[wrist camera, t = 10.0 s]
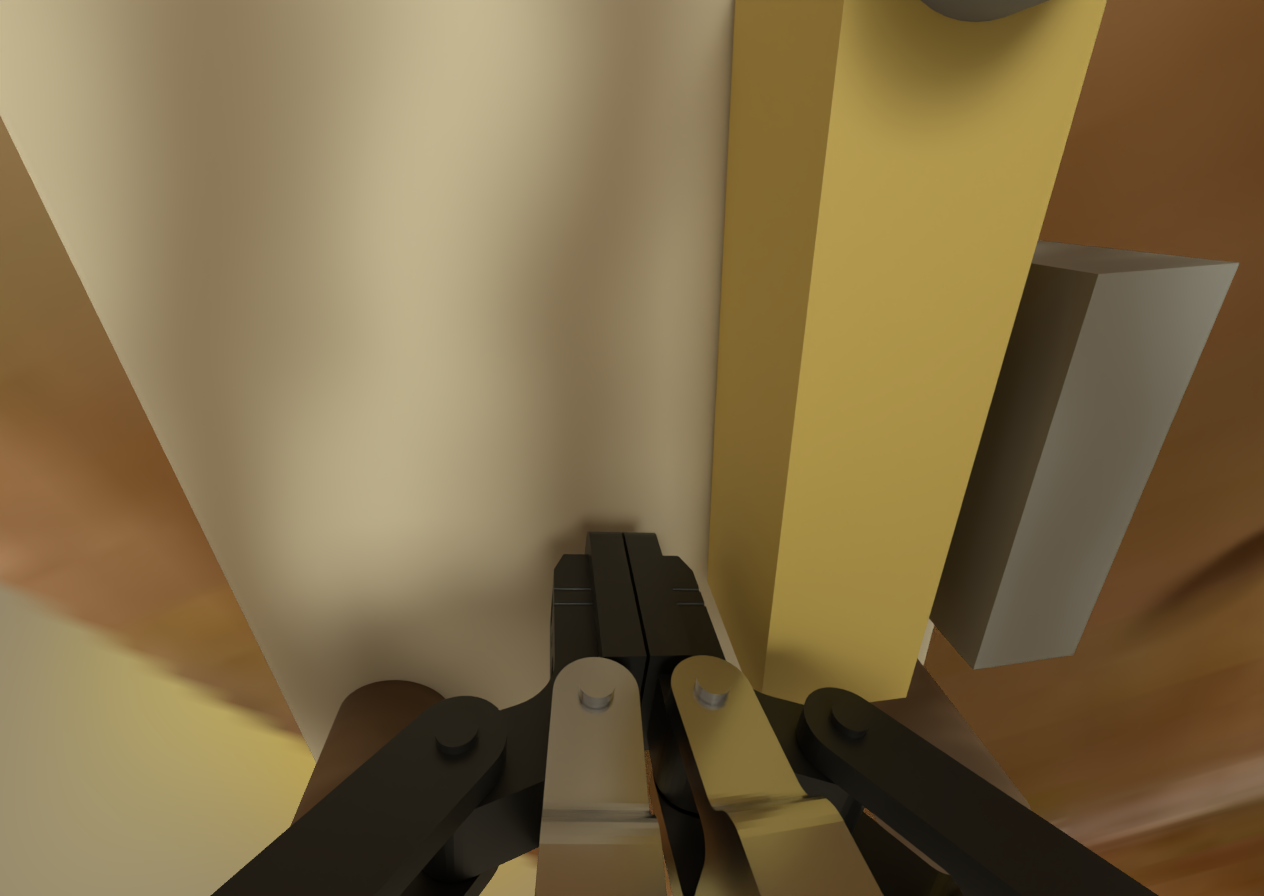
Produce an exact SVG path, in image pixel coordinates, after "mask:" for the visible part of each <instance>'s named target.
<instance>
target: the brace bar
mask: <svg viewBox="0 0 1264 896" xmlns="http://www.w3.org/2000/svg"><path fill="white" fill-rule="evenodd" d="M1106 2H1107V0H735V16H734V36H733V57H732V77H731V98H730V118H729V139H728V159H727V180H726V200H725V221H724V241H723V261H722V282H721V302H720V323H719V343H718V364H717V384H716V405H715V425H714V446H713V466H712V486H711V507H710V527H709V548H708V568H707V582H708V585H709V587H710V590H711V593H712V595H713V598H714V600H715V603H716V606H717V608H718V611H719V613H720V616H721V619H722V621H723V624H724V627H725V629H726V632H727V634H728V637H729V640H730V642H731V645H732V647H733V650H734V653H735V655H736V658H737V661H738V663H739V666H740V668H741V671H742V673H743V674H744V675H745V676H746V678H747V679H748V681H749V682H750V684H751V686H752V688H753V689H754V690H756V691H758V692H761V693H763V694H766V695H769V696H772V697H776V698H780V699H784V700H788V701H791V702H795V703H799V704H803V705H804V703H805V701H806V699H807V697H808V695H809V694H811V693H812V692H813V691H815V690H817V689H820V688H825V687H833V688H840V689H844V690H847V691H850V692H852V693H854V694H857V695H858V696H860V697H862V698H864V699H865V700H867V701H868V702H875V701H883V700H890V699H898V698H906V696H907V692H908V689H909V686H910V682H911V679H912V675H913V672H914V668H915V665H916V661H917V658H918V654H919V651H920V647H921V644H922V640H923V637H924V633H925V630H926V627H927V623H928V620H929V616H930V613H931V609H932V606H933V602H934V599H935V595H936V592H937V588H938V585H939V581H940V578H941V574H942V571H943V568H944V564H945V561H946V557H947V554H948V550H949V547H950V543H951V540H952V536H953V533H954V529H955V526H956V522H957V519H958V515H959V512H960V509H961V505H962V502H963V498H964V495H965V491H966V488H967V484H968V481H969V477H970V474H971V470H972V467H973V463H974V460H975V456H976V453H977V450H978V446H979V443H980V439H981V436H982V432H983V429H984V425H985V422H986V418H987V415H988V411H989V408H990V404H991V401H992V397H993V394H994V391H995V387H996V384H997V380H998V377H999V373H1000V370H1001V366H1002V363H1003V359H1004V356H1005V352H1006V349H1007V345H1008V342H1009V338H1010V335H1011V332H1012V328H1013V325H1014V321H1015V318H1016V314H1017V311H1018V307H1019V304H1020V300H1021V297H1022V293H1023V290H1024V286H1025V283H1026V279H1027V276H1028V273H1029V269H1030V266H1031V262H1032V259H1033V255H1034V252H1035V248H1036V245H1037V241H1038V238H1039V234H1040V231H1041V227H1042V224H1043V220H1044V217H1045V214H1046V210H1047V207H1048V203H1049V200H1050V196H1051V193H1052V189H1053V186H1054V182H1055V179H1056V175H1057V172H1058V168H1059V165H1060V161H1061V158H1062V155H1063V151H1064V148H1065V144H1066V141H1067V137H1068V134H1069V130H1070V127H1071V123H1072V120H1073V116H1074V113H1075V109H1076V106H1077V102H1078V99H1079V96H1080V92H1081V89H1082V85H1083V82H1084V78H1085V75H1086V71H1087V68H1088V64H1089V61H1090V57H1091V54H1092V50H1093V47H1094V43H1095V40H1096V37H1097V33H1098V30H1099V26H1100V23H1101V19H1102V16H1103V12H1104V9H1105V5H1106Z"/></svg>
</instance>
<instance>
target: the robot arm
mask: <svg viewBox="0 0 1264 896" xmlns="http://www.w3.org/2000/svg"><path fill="white" fill-rule="evenodd" d="M644 750H649V751H650V757H651V763H652V773H651V778H650V783H649V795H650V800H651V804H652V809H653V813H654V815H651V812H650V808H649V801H648V789H647V778H646V766H645V754H644ZM865 807H866V808H867V809H868V810H869V811H871V812H872V813H873V814H874V815H876V816H877V817H878V818H879V819H881V820H882V821H883V822H885V823H886V824H887V825H888V826H890V827H891V828H892V829H893V830H895V831H896V832H897V833H898V834H900V835H901V836H902V837H903V838H905V839H906V840H907V841H909V842H910V843H911V844H912V845H914V846H915V847H916V848H917V849H919V850H920V851H921V852H922V853H924V854H925V855H926V856H927V857H929V858H930V859H931V860H933V861H934V862H935V863H936V864H938V865H939V866H940V867H941V868H943V869H944V870H945V871H946V872H947V873H948V874H949V875H947V874H944V873H942V872H940V871H938V870H936V869H935V868H933V867H932V866H930V865H929V864H928V863H927V862H925V861H924V860H923V859H922V858H920V857H919V856H918V855H917V854H915V853H914V852H913V851H912V850H910V849H909V848H908V847H907V846H905V845H904V844H903V843H902V842H900V841H899V840H898V839H897V838H895V837H894V836H893V835H892V834H890V833H889V832H888V831H887V830H885V829H884V828H883V827H882V826H880V825H879V824H878V823H877V822H875V821H874V820H873V819H872V818H870V817H869V816H868V815H867V814H865V813H864V812H863V810H864V808H865ZM538 847H539V853H538V865H537V876H536V888H535V896H667V893H666V883H665V873H664V863H663V855H664V859H665V864H666V868H667V872H668V876H669V881H670V885H671V889H672V893H673V896H1158V895H1157V894H1155V893H1154V892H1152V891H1151V890H1149V889H1148V888H1146V887H1145V886H1143V885H1142V884H1140V883H1139V882H1137V881H1136V880H1134V879H1133V878H1131V877H1130V876H1128V875H1127V874H1125V873H1124V872H1122V871H1121V870H1119V869H1118V868H1116V867H1115V866H1113V865H1112V864H1110V863H1109V862H1107V861H1106V860H1104V859H1103V858H1101V857H1100V856H1098V855H1097V854H1095V853H1094V852H1092V851H1091V850H1089V849H1088V848H1086V847H1085V846H1083V845H1082V844H1080V843H1079V842H1077V841H1076V840H1074V839H1073V838H1071V837H1070V836H1068V835H1067V834H1065V833H1064V832H1062V831H1061V830H1059V829H1058V828H1056V827H1055V826H1053V825H1052V824H1050V823H1049V822H1048V821H1046V820H1045V819H1043V818H1042V817H1040V816H1039V815H1037V814H1036V813H1034V812H1033V811H1031V810H1030V809H1028V808H1027V807H1025V806H1024V805H1022V804H1021V803H1019V802H1018V801H1016V800H1015V799H1013V798H1012V797H1010V796H1009V795H1007V794H1006V793H1004V792H1003V791H1001V790H1000V789H998V788H997V787H995V786H994V785H992V784H991V783H989V782H988V781H986V780H985V779H983V778H982V777H980V776H979V775H977V774H976V773H974V772H973V771H971V770H970V769H968V768H967V767H965V766H964V765H962V764H961V763H959V762H958V761H956V760H955V759H953V758H952V757H950V756H949V755H947V754H946V753H944V752H943V751H941V750H940V749H938V748H937V747H935V746H934V745H932V744H931V743H929V742H928V741H926V740H925V739H923V738H922V737H920V736H919V735H917V734H916V733H914V732H913V731H911V730H910V729H908V728H907V727H906V726H904V725H903V724H901V723H900V722H898V721H897V720H895V719H894V718H892V717H891V716H889V715H888V714H886V713H885V712H883V711H882V710H880V709H879V708H877V707H876V706H874V705H873V704H871V703H870V702H868V701H867V700H865V699H864V698H862V697H860V696H858V695H857V694H854V693H852V692H850V691H847V690H844V689H840V688H833V687H825V688H820V689H817V690H815V691H813V692H812V693H811V694H809V695H808V697H807V699H806V701H805V703H804V705H803V704H799V703H795V702H791V701H788V700H784V699H780V698H776V697H772V696H769V695H766V694H763V693H761V692H758V691H756V690H754V689H753V688H752V686H751V684H750V682H749V681H748V679H747V678H746V676H745V675H744V674H743V673H742V672H741V671H740V670H739V669H738V668H737V667H735V666H734V665H732V664H731V663H729V662H727V661H726V659H725V657H724V654H723V651H722V648H721V646H720V643H719V640H718V638H717V635H716V632H715V630H714V627H713V624H712V621H711V619H710V616H709V613H708V611H707V608H706V606H704V600H703V597H702V594H701V592H700V591H699V586H698V584H697V581H696V578H695V576H694V573H693V571H692V570H691V569H690V567H689V566H688V565H687V564H686V563H685V562H684V561H683V560H682V559H681V558H680V557H679V556H663V555H662V552H661V549H660V545H659V542H658V539H657V536H656V534H655V533H645V532H622V533H621V532H599V531H588V532H587V537H586V546H585V554H563V556H562V557H561V559H560V561H559V562H558V564H557V565H556V567H555V568H554V575H553V588H552V602H551V615H550V681H549V682H548V683H547V685H546V686H545V687H544V688H543V689H542V690H541V691H540V692H539V693H538V694H537V695H535V696H534V697H533V698H531V699H529V700H527V701H525V702H523V703H520V704H518V705H515V706H512V707H509V708H506V709H502V710H499V709H498V708H497V707H496V706H495V705H494V704H492V703H491V702H489V701H487V700H485V699H482V698H479V697H474V696H456V697H451V698H448V699H445V700H442V701H440V702H437V703H436V704H434V705H432V706H430V707H429V708H428V709H426V710H425V711H424V712H422V713H421V714H420V715H419V716H418V717H417V718H415V719H414V720H413V721H412V722H411V723H410V724H409V725H407V726H406V727H405V728H404V729H403V730H402V731H400V732H399V733H398V734H397V735H396V736H395V737H394V738H392V739H391V740H390V741H389V742H388V743H387V744H385V745H384V746H383V747H382V748H381V749H380V750H378V751H377V752H376V753H375V754H374V755H373V756H372V757H370V758H369V759H368V760H367V761H366V762H365V763H363V764H362V765H361V766H360V767H359V768H358V769H357V770H355V771H354V772H353V773H352V774H351V775H350V776H348V777H347V778H346V779H345V780H344V781H343V782H341V783H340V784H339V785H338V786H337V787H336V788H335V789H333V790H332V791H331V792H330V793H329V794H328V795H326V796H325V797H324V798H323V799H322V800H321V801H320V802H318V803H317V804H316V805H315V806H314V807H313V808H311V809H310V810H309V811H308V812H307V813H306V814H304V815H303V816H302V817H301V818H300V819H299V820H298V821H296V822H295V823H294V824H293V825H292V826H291V827H289V828H288V829H287V830H286V831H285V832H284V833H282V834H281V835H280V836H279V837H278V838H277V839H276V840H274V841H273V842H272V843H271V844H270V845H269V846H268V847H266V848H265V849H264V850H263V851H262V852H261V853H259V854H258V855H257V856H256V857H255V858H254V859H252V860H251V861H250V862H249V863H248V864H247V865H245V866H244V867H243V868H242V869H241V870H240V871H239V872H237V873H236V874H235V875H234V876H233V877H232V878H230V879H229V880H228V881H227V882H226V883H225V884H224V885H222V886H221V887H220V888H219V889H218V890H217V891H215V892H214V893H213V894H212V895H211V896H479V895H480V893H481V892H482V891H483V889H484V888H485V887H486V885H487V884H488V883H489V881H490V880H491V878H492V877H493V875H494V874H495V872H496V870H497V868H498V866H499V865H500V864H503V863H505V862H507V861H510V860H512V859H514V858H516V857H518V856H520V855H522V854H525V853H527V852H529V851H531V850H533V849H535V848H538ZM662 851H663V853H662Z"/></svg>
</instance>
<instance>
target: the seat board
mask: <svg viewBox="0 0 1264 896" xmlns="http://www.w3.org/2000/svg"><path fill="white" fill-rule="evenodd" d="M734 16H735V0H0V116H1V118H2V120H3V122H4V124H5V126H6V128H7V130H8V132H9V134H10V136H11V138H12V140H13V142H14V144H15V146H16V148H17V150H18V153H19V155H20V157H21V159H22V161H23V163H24V165H25V167H26V169H27V171H28V173H29V175H30V177H31V179H32V181H33V183H34V185H35V187H36V189H37V191H38V194H39V196H40V198H41V200H42V202H43V204H44V206H45V208H46V210H47V212H48V214H49V216H50V218H51V220H52V222H53V224H54V226H55V228H56V230H57V232H58V235H59V237H60V239H61V241H62V243H63V245H64V247H65V249H66V251H67V253H68V255H69V257H70V259H71V261H72V263H73V265H74V267H75V269H76V271H77V273H78V276H79V278H80V280H81V282H82V284H83V286H84V288H85V290H86V292H87V294H88V296H89V298H90V300H91V302H92V304H93V306H94V308H95V310H96V312H97V314H98V317H99V319H100V321H101V323H102V325H103V327H104V329H105V331H106V333H107V335H108V337H109V339H110V341H111V343H112V345H113V347H114V349H115V351H116V353H117V355H118V358H119V360H120V362H121V364H122V366H123V368H124V370H125V372H126V374H127V376H128V378H129V380H130V382H131V384H132V386H133V388H134V390H135V392H136V394H137V396H138V399H139V401H140V403H141V405H142V407H143V409H144V411H145V413H146V415H147V417H148V419H149V421H150V423H151V425H152V427H153V429H154V431H155V433H156V435H157V438H158V440H159V442H160V444H161V446H162V448H163V450H164V452H165V454H166V456H167V458H168V460H169V462H170V464H171V466H172V468H173V470H174V472H175V474H176V476H177V479H178V481H179V483H180V485H181V487H182V489H183V491H184V493H185V495H186V497H187V499H188V501H189V503H190V505H191V507H192V509H193V511H194V513H195V515H196V517H197V520H198V522H199V524H200V526H201V528H202V530H203V532H204V534H205V536H206V538H207V540H208V542H209V544H210V546H211V548H212V550H213V552H214V554H215V556H216V558H217V561H218V563H219V565H220V567H221V569H222V571H223V573H224V575H225V577H226V579H227V581H228V583H229V585H230V587H231V589H232V591H233V593H234V595H235V597H236V599H237V602H238V604H239V606H240V608H241V610H242V612H243V614H244V616H245V618H246V620H247V622H248V624H249V626H250V628H251V630H252V632H253V634H254V636H255V638H256V640H257V643H258V645H259V647H260V649H261V651H262V653H263V655H264V657H265V659H266V661H267V663H268V665H269V667H270V669H271V671H272V673H273V675H274V677H275V679H276V681H277V684H278V686H279V688H280V690H281V692H282V694H283V696H284V698H285V700H286V702H287V704H288V706H289V708H290V710H291V712H292V714H293V716H294V718H295V720H296V722H297V725H298V727H299V729H300V731H301V733H302V735H303V737H304V739H305V741H306V743H307V745H308V747H309V749H310V751H311V753H312V755H313V757H314V759H315V761H316V766H315V768H314V771H313V773H312V776H311V778H310V780H309V783H308V786H307V788H306V790H305V792H304V795H303V797H302V800H301V802H300V805H299V807H298V809H297V812H296V814H295V817H294V819H293V821H292V824H291V826H292V825H293V824H294V823H295V822H296V821H298V820H299V819H300V818H301V817H302V816H303V815H304V814H306V813H307V812H308V811H309V810H310V809H311V808H313V807H314V806H315V805H316V804H317V803H318V802H320V801H321V800H322V799H323V798H324V797H325V796H326V795H328V794H329V793H330V792H331V791H332V790H333V789H335V788H336V787H337V786H338V785H339V784H340V783H341V782H343V781H344V780H345V779H346V778H347V777H348V776H350V775H351V774H352V773H353V772H354V771H355V770H357V769H358V768H359V767H360V766H361V765H362V764H363V763H365V762H366V761H367V760H368V759H369V758H370V757H372V756H373V755H374V754H375V753H376V752H377V751H378V750H380V749H381V748H382V747H383V746H384V745H385V744H387V743H388V742H389V741H390V740H391V739H392V738H394V737H395V736H396V735H397V734H398V733H399V732H400V731H402V730H403V729H404V728H405V727H406V726H407V725H409V724H410V723H411V722H412V721H413V720H414V719H415V718H417V717H418V716H419V715H420V714H421V713H422V712H424V711H425V710H426V709H428V708H429V707H430V706H432V705H434V704H436V703H437V702H440V701H442V700H445V699H448V698H451V697H456V696H474V697H479V698H482V699H485V700H487V701H489V702H491V703H492V704H494V705H495V706H496V707H497V708H498V709H499V710H502V709H506V708H509V707H512V706H515V705H518V704H520V703H523V702H525V701H527V700H529V699H531V698H533V697H534V696H535V695H537V694H538V693H539V692H540V691H541V690H542V689H543V688H544V687H545V686H546V685H547V683H548V682H549V681H550V615H551V602H552V588H553V575H554V568H555V567H556V565H557V564H558V562H559V561H560V559H561V557H562V556H563V554H585V546H586V537H587V532H588V531H599V532H621V533H622V532H645V533H655V534H656V536H657V539H658V542H659V545H660V549H661V552H662V555H663V556H679V557H680V558H681V559H682V560H683V561H684V562H685V563H686V564H687V565H688V566H689V567H690V569H691V570H692V571H693V573H694V576H695V578H696V581H697V584H698V586H699V591H700V592H701V594H702V597H703V600H704V606H706V608H707V611H708V613H709V616H710V619H711V621H712V624H713V627H714V630H715V632H716V635H717V638H718V640H719V643H720V646H721V648H722V651H723V654H724V657H725V659H726V661H727V662H729V663H731V664H732V665H734V666H735V667H737V668H738V669H739V670H740V671H741V668H740V666H739V663H738V661H737V658H736V655H735V653H734V650H733V647H732V645H731V642H730V640H729V637H728V634H727V632H726V629H725V627H724V624H723V621H722V619H721V616H720V613H719V611H718V608H717V606H716V603H715V600H714V598H713V595H712V593H711V590H710V587H709V585H708V582H707V568H708V548H709V527H710V507H711V486H712V466H713V446H714V425H715V405H716V384H717V364H718V343H719V323H720V302H721V282H722V261H723V241H724V221H725V200H726V180H727V159H728V139H729V118H730V98H731V77H732V57H733V36H734ZM1238 265H1239V263H1237V262H1228V261H1219V260H1210V259H1201V258H1192V257H1183V256H1174V255H1165V254H1156V253H1147V252H1139V251H1130V250H1121V249H1112V248H1103V247H1094V246H1085V245H1076V244H1067V243H1058V242H1049V241H1040V240H1038V241H1037V245H1036V248H1035V252H1034V255H1033V259H1032V262H1031V266H1030V269H1029V273H1028V276H1027V279H1026V283H1025V286H1024V290H1023V293H1022V297H1021V300H1020V304H1019V307H1018V311H1017V314H1016V318H1015V321H1014V325H1013V328H1012V332H1011V335H1010V338H1009V342H1008V345H1007V349H1006V352H1005V356H1004V359H1003V363H1002V366H1001V370H1000V373H999V377H998V380H997V384H996V387H995V391H994V394H993V397H992V401H991V404H990V408H989V411H988V415H987V418H986V422H985V425H984V429H983V432H982V436H981V439H980V443H979V446H978V450H977V453H976V456H975V460H974V463H973V467H972V470H971V474H970V477H969V481H968V484H967V488H966V491H965V495H964V498H963V502H962V505H961V509H960V512H959V515H958V519H957V522H956V526H955V529H954V533H953V536H952V540H951V543H950V547H949V550H948V554H947V557H946V561H945V564H944V568H943V571H942V574H941V578H940V581H939V585H938V588H937V592H936V595H935V599H934V602H933V606H932V609H931V613H930V616H929V620H928V623H927V627H926V630H925V633H924V637H923V640H922V644H921V647H920V651H919V654H918V658H917V661H916V665H915V668H914V672H913V675H912V679H911V682H910V686H909V689H908V692H907V696H906V698H898V699H890V700H883V701H875V702H870V703H871V704H873V705H874V706H876V707H877V708H879V709H880V710H882V711H883V712H885V713H886V714H888V715H889V716H891V717H892V718H894V719H895V720H897V721H898V722H900V723H901V724H903V725H904V726H906V727H907V728H908V729H910V730H911V731H913V732H914V733H916V734H917V735H919V736H920V737H922V738H923V739H925V740H926V741H928V742H929V743H931V744H932V745H934V746H935V747H937V748H938V749H940V750H941V751H943V752H944V753H946V754H947V755H949V756H950V757H952V758H953V759H955V760H956V761H958V762H959V763H961V764H962V765H964V766H965V767H967V768H968V769H970V770H971V771H973V772H974V773H976V774H977V775H979V776H980V777H982V778H983V779H985V780H986V781H988V782H989V783H991V784H992V785H994V786H995V787H997V788H998V789H1000V790H1001V791H1003V792H1004V793H1006V794H1007V795H1009V796H1010V797H1012V798H1013V799H1015V800H1016V801H1018V802H1019V803H1021V804H1022V805H1024V806H1025V807H1027V808H1028V809H1030V810H1031V808H1030V805H1029V804H1028V802H1027V801H1026V799H1025V798H1024V797H1023V795H1022V794H1021V793H1020V792H1019V790H1018V789H1017V788H1016V786H1015V785H1014V784H1013V782H1012V781H1011V780H1010V778H1009V777H1008V776H1007V775H1006V773H1005V772H1004V771H1003V769H1002V768H1001V767H1000V765H999V764H998V763H997V762H996V760H995V759H994V758H993V756H992V755H991V754H990V752H989V751H988V750H987V748H986V747H985V746H984V745H983V743H982V742H981V741H980V739H979V738H978V737H977V735H976V734H975V733H974V731H973V730H972V729H971V728H970V726H969V725H968V724H967V722H966V721H965V720H964V718H963V717H962V716H961V714H960V713H959V712H958V711H957V709H956V708H955V707H954V705H953V704H952V703H951V701H950V700H949V699H948V697H947V696H946V695H945V694H944V692H943V691H942V690H941V688H940V687H939V686H938V684H937V683H936V682H935V681H934V679H933V678H932V677H931V675H930V674H929V673H928V671H927V670H926V669H925V667H924V662H925V658H926V654H927V650H928V646H929V642H930V638H931V635H932V631H933V627H934V625H935V626H936V627H937V628H938V630H939V631H940V632H941V633H942V634H943V635H944V636H945V638H946V639H947V640H948V641H949V642H950V643H951V645H952V646H953V647H954V648H955V649H956V650H957V652H958V653H959V654H960V655H961V656H962V657H963V658H964V660H965V661H966V662H967V663H968V664H969V665H970V667H971V668H972V669H973V670H976V669H982V668H989V667H996V666H1002V665H1009V664H1016V663H1023V662H1029V661H1036V660H1043V659H1049V658H1056V657H1063V656H1069V655H1073V654H1074V652H1075V650H1076V647H1077V645H1078V643H1079V640H1080V638H1081V635H1082V633H1083V631H1084V628H1085V626H1086V624H1087V621H1088V619H1089V617H1090V614H1091V612H1092V610H1093V607H1094V605H1095V602H1096V600H1097V598H1098V595H1099V593H1100V591H1101V588H1102V586H1103V584H1104V581H1105V579H1106V577H1107V574H1108V572H1109V569H1110V567H1111V565H1112V562H1113V560H1114V558H1115V555H1116V553H1117V551H1118V548H1119V546H1120V543H1121V541H1122V539H1123V536H1124V534H1125V532H1126V529H1127V527H1128V525H1129V522H1130V520H1131V518H1132V515H1133V513H1134V510H1135V508H1136V506H1137V503H1138V501H1139V499H1140V496H1141V494H1142V492H1143V489H1144V487H1145V485H1146V482H1147V480H1148V477H1149V475H1150V473H1151V470H1152V468H1153V466H1154V463H1155V461H1156V459H1157V456H1158V454H1159V452H1160V449H1161V447H1162V444H1163V442H1164V440H1165V437H1166V435H1167V433H1168V430H1169V428H1170V426H1171V423H1172V421H1173V418H1174V416H1175V414H1176V411H1177V409H1178V407H1179V404H1180V402H1181V400H1182V397H1183V395H1184V393H1185V390H1186V388H1187V385H1188V383H1189V381H1190V378H1191V376H1192V374H1193V371H1194V369H1195V367H1196V364H1197V362H1198V360H1199V357H1200V355H1201V352H1202V350H1203V348H1204V345H1205V343H1206V341H1207V338H1208V336H1209V334H1210V331H1211V329H1212V327H1213V324H1214V322H1215V319H1216V317H1217V315H1218V312H1219V310H1220V308H1221V305H1222V303H1223V301H1224V298H1225V296H1226V293H1227V291H1228V289H1229V286H1230V284H1231V282H1232V279H1233V277H1234V275H1235V272H1236V270H1237V268H1238ZM741 672H742V671H741ZM873 815H874V814H873ZM874 817H875V819H876V821H877V823H878V824H879V825H880V826H882V827H883V828H884V829H885V830H887V831H888V832H889V833H890V834H892V835H893V836H894V837H895V838H897V839H898V840H899V841H900V842H902V843H903V844H904V845H905V846H907V847H908V848H909V849H910V850H912V851H913V852H914V853H915V854H917V855H918V856H919V857H920V858H922V859H923V860H924V861H925V862H927V863H928V864H929V865H930V866H932V867H933V868H935V869H936V870H938V871H940V872H942V873H944V874H947V875H949V874H948V873H947V872H946V871H945V870H944V869H943V868H941V867H940V866H939V865H938V864H936V863H935V862H934V861H933V860H931V859H930V858H929V857H927V856H926V855H925V854H924V853H922V852H921V851H920V850H919V849H917V848H916V847H915V846H914V845H912V844H911V843H910V842H909V841H907V840H906V839H905V838H903V837H902V836H901V835H900V834H898V833H897V832H896V831H895V830H893V829H892V828H891V827H890V826H888V825H887V824H886V823H885V822H883V821H882V820H881V819H879V818H878V817H877V816H876V815H874ZM291 826H290V827H291Z"/></svg>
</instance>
